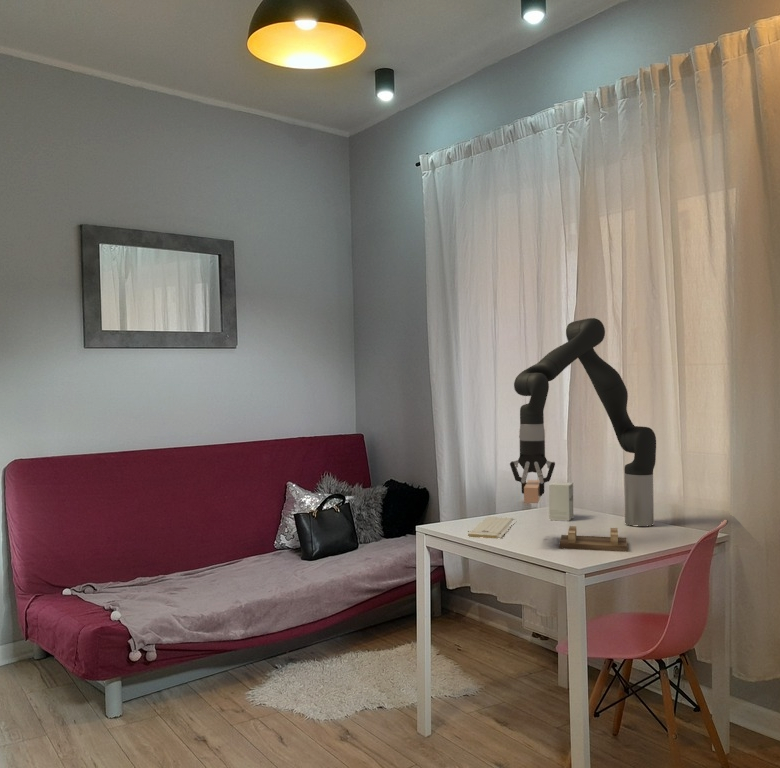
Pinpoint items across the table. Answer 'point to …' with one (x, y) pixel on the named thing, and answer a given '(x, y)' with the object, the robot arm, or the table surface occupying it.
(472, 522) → the table surface
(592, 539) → the cleated wooden board
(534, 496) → the clay bar
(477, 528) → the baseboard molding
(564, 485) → the supplement box
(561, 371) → the robot arm
